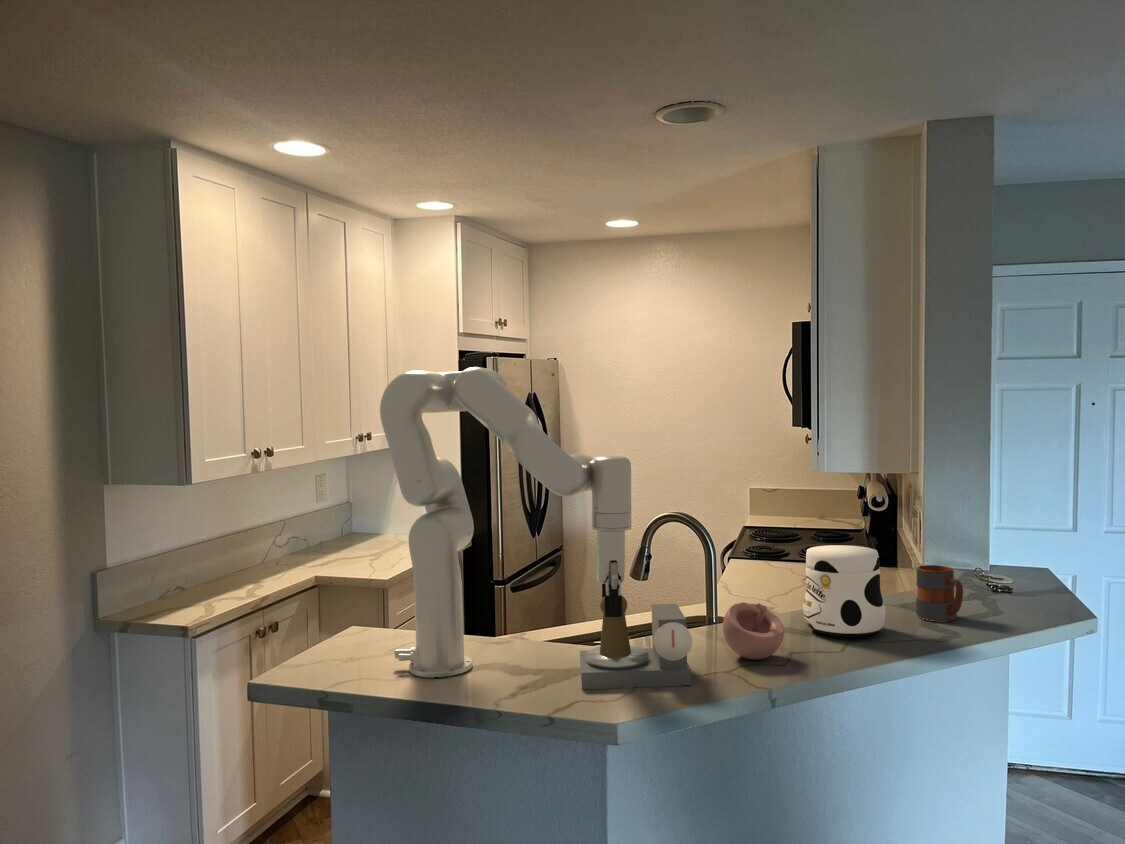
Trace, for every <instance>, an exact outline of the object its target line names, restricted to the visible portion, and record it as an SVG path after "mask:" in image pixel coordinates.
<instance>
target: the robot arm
mask: <svg viewBox="0 0 1125 844" xmlns="http://www.w3.org/2000/svg"><path fill="white" fill-rule="evenodd" d="M451 412H452V413H453V412H468V413H470V415H472V416H473V417H474V418H475V419H476V420H477V421H478V422H480V424H482V425H483V426H484V427H485V428H486V429H488V431H490V432H491V433H492V434H493V435H494V436H495V437H496V438H498V439H499V440H500V441H501V442H502V443H503V444H504V445H505V446H506V448H507V450H508V451H509V452H510V453H511V455H513V456H514V458H515V459H516V460H517V462H518V463H519V464H520V465H521V466H522V467H523V468H524V469H525V470H526V471H527V472H528V473H529V474H530V475H531V476H533V477H534V478H535V479H536V480H537V481H538V482H539V483H540V484H542V486H544V487H545V488H546V489H547V490H549V491H550V492H552V493H554V494H555V495H557V496H559V497H565V498H567V497H569V498H570V497H572V496H576V495H578V494H579V493H582V492H589V491H591V529H592V530H593V531H596V571H595V572H596V573H595V574H596V580H597V582H598V583H599V584H601V599H602V598H603V597H605V617H621V616H622V596H623V595H622V586H621V584H622V583H623V582H624V581H625V565H626V531H630V530H631V529H632V463H631V460H630V458H628V457H626V456H621V455H620V456H619V455H603V456H602V455H601V456H592V455H584V454H578V453H577V454H576V453H572V454H568V453H567V452H566V451H565V450H564V449H562V448H561V447H560V446H559V445H558V444H556V443H555V442H554V441H553V440H552V439H551V438H550V437H549V436H548V435H547V434H546V433H545V431H544V430H543V429H542V427H541V426H540V424H539V421H538V418H537V415H536V413H535V412H534V411H533V409H531V407H529V406H528V405H527V404H525V403H524V402H523V401H522V400H521V399H520V398H519V397H518V396H516V395H515V394H514V393H513V392H512V391H511V390H510V389H509V388H507V383H506V381H505V379H504V378H503V376H502V375H501V374H500V373H498V372H497V371H496V370H494V369H491V368H485V367H479V366H473V367H472V366H471V367H467V368H466V369H464V370H462V371H443V372H435V371H429V370H409V371H405V372H403V373H401V374H399V375H397V376H396V377H395V378H394V379H392V380H391V382H389V383H388V385H387V386H386V388H385V389H384V392H383V393H382V395H381V399H380V404H379V416H380V422H381V426H382V429H383V432H384V435H385V438H386V442H387V446H388V448H389V452H390V457H391V461H392V464H393V469H394V471H395V474H396V478H397V482H398V486H399V490H400V492H401V495H402V497H403V498H404V500H405V501H406V502H407V503H408V504H409V505H412V506H413V507H424V508H425V514H422V515H421V516H419V517H418V518H417V519H416V520H415V521H414V522H413V524H412V525H411V527H410V530H409V533H408V548H409V549H408V550H409V555H410V560H411V565H412V575H413V594H414V620H415V621H414V622H415V646H412V647H411V648H407V649H406V648H396V649H395V650H394V658H395V660H396V659H397V660H398V661H399V662H406V661H410V663H409V664H408V670H409V672H410V673H411V675H414V676H416V677H421V678H429V677H430V678H433V679H434V677H439V678H448V677H454V676H458V675H460V674H464V673H466V672H468V671H470V669H472V667H473V659H472V658H471V657H469V656H467V655H466V654H465V642H464V641H465V639H464V638H465V637H464V636H465V635H464V634H465V631H464V609H463V604H464V603H463V583H462V570H461V566H460V562H459V556H458V551H460V550H462V549H464V548H465V547H466V546H468V545H469V543H470V542H471V541H472V539H473V536H474V531H475V527H474V519H473V515H472V512H471V509H470V504H469V502H468V498H467V495H466V490H465V487H464V484H463V480H462V478H461V477H462V476H461V475H460V472H459V471H458V469H457V467H456V466H455V465H454V464H453V463H452V462H451V461H449V460H448V459H446V458H444V457H438V456H437V455H436V452H435V449H434V446H433V442H432V438H431V435H430V433H429V430H428V428H427V426H426V424H425V422H424V421H423V414H424V413H426V414H428V413H429V414H430V413H433V414H434V413H451ZM447 676H448V677H447Z"/></svg>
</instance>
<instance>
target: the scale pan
mask: <svg viewBox="0 0 1125 844" xmlns="http://www.w3.org/2000/svg"><path fill="white" fill-rule="evenodd" d="M630 649H631V654H630V655H628V656H625V657H618V658H611V657H605V656H602V655H600V646H598V647H594V648H591V649H589V651H588V652H587V653H586V662H587V663H588V664H589V665H592V666H594V667H598V668H604V669H628V668H634V667H638V666H641V665H644V664H645V663H647V662H648V660H649V654H648V652H647V651H646V650H644V649H642V648H641V647H638V646H636V645H635V646H634V645H630Z"/></svg>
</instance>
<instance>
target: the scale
mask: <svg viewBox="0 0 1125 844" xmlns="http://www.w3.org/2000/svg"><path fill="white" fill-rule="evenodd" d="M650 606H651V631H652V635H651V636H652V647H648V648H645V647H644V648H642V649H644V650H646V651H647V652H648V654H649V660H648V662H647V663H645V664H644V665H641V666H638V667H634V668H628V669H604V668H598V667H594V666H592V665H589V664H588V663H587V662H586V653H587V652H588V651H589V650H590V649H589V650H585V649H584V650H582V649H581V650H579V666H580V680H581V681H580V682H581V690H601V689H604V690H605V689H606V688H607V689H630V688H633V687H637V688H656V687H657V688H658V687H659V688H662V687H665V686H667V687H684V686H683V685H691V686H692V669H691V667H690V665H689V663H688V654H689V653H690V651H691V650H692V647H693V636H692V634H691V632H690V630H689V628H687V618H686V617H685V615H684V614H683V612H682V610H681V608H680V607H679V605H678V604H677V603H656V604H655V603H654V604H653V603H651V605H650ZM681 685H682V686H681Z"/></svg>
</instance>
